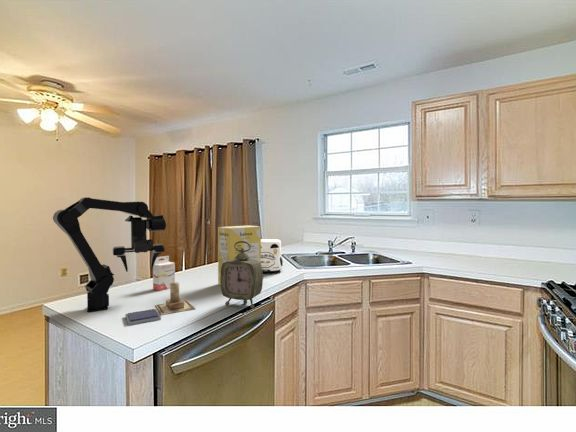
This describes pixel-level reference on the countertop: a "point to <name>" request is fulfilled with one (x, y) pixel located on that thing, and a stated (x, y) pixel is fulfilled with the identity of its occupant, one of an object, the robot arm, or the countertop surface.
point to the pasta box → (233, 235)
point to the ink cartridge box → (163, 273)
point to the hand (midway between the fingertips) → (139, 270)
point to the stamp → (174, 297)
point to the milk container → (271, 255)
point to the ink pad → (142, 316)
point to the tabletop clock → (241, 277)
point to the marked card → (165, 310)
